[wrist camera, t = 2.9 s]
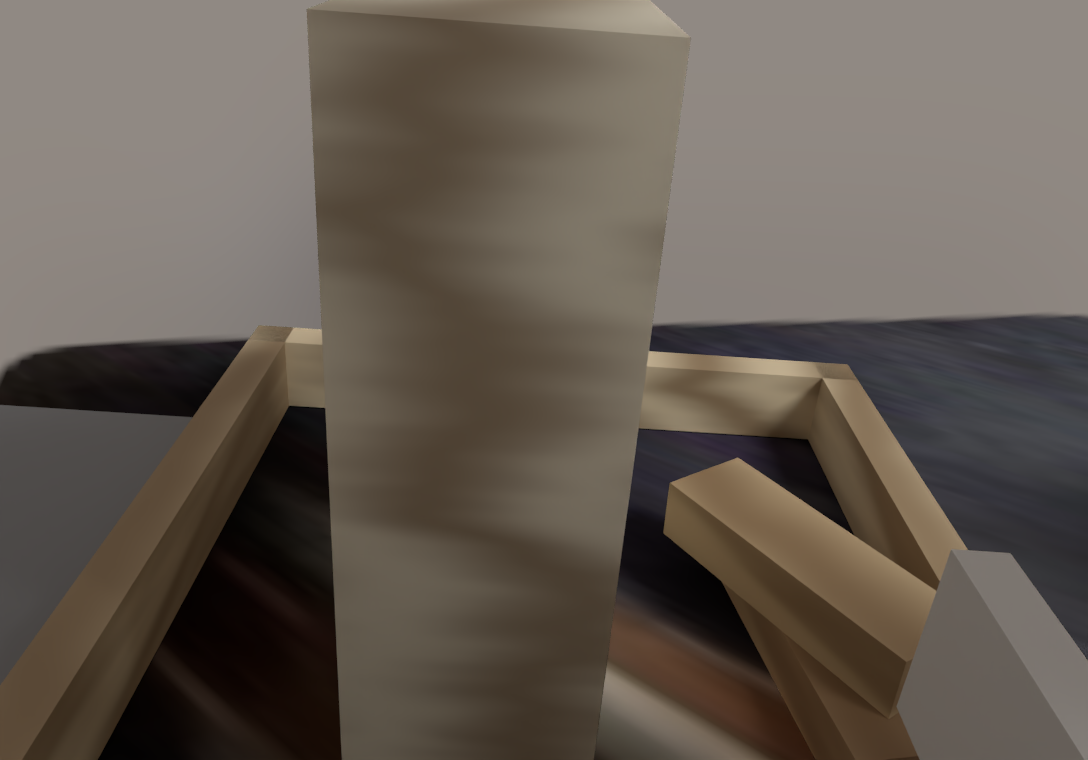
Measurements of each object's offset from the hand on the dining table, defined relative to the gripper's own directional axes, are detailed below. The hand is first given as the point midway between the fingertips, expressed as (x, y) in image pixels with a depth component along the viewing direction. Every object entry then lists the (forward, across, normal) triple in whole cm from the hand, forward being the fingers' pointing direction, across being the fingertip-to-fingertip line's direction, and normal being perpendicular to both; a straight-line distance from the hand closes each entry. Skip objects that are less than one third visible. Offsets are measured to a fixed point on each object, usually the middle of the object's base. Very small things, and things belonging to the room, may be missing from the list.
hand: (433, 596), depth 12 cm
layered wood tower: (+11, 0, -12) cm, 16 cm away
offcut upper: (+12, +10, -10) cm, 19 cm away
